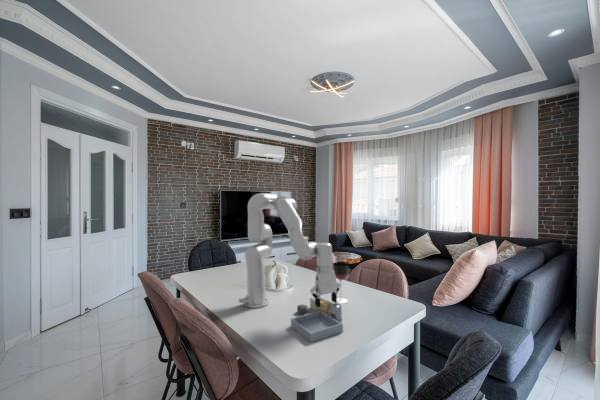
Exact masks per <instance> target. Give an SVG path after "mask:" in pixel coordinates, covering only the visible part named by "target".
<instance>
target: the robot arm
mask: <svg viewBox="0 0 600 400" xmlns="http://www.w3.org/2000/svg"><path fill="white" fill-rule="evenodd" d="M270 209H272V210H276V212H277V214H278V216H279V217H280V219H281V221H282V222H283V224H284V226H285V227H286V229H287V231H288V232H287V234H288V238H289V243H290V245H291V247H292V248H293V250H294V252H295V254H296V255H297V257H299V259H301V260H304V261H308V260H310V259H312V258H314V257H316V267H315V268H314V269H315V271H316V273H315V279H314V282H315V283H314V286H312V288H311V289H310V290H309V292H310V294H311V295H312V297H314V298H315V305H316V306H317V307H320V299H319V297H321V296H322V295H328V294H331V295H330V296H331V302H332V303H334V304H338V303H337V295H338V292H340V282H337V278H336V276H335V272H334V271H333V263H334V262H333V246H332V244H331V243H330V242H317V241H307V240H306V238H305V237H304V235H303V231H302V227H303V219H301V217H300V215H299V213H298V212H297V209H298V203H297V201H296V200H295V199H294V198H291V197H289V196H288V197H287V196H284V195H280V194H276V193H274V192H273V193H272V192H271V193H269V192H260V193H255V194H254V195H252V196H251V197H250V199H248V203H247V238H248V240H249V241H250V243H256V244H252V245H251V246H249V247H248V248H246V250H245V253H244V258H245V264H246V279H247V280H246V281H247V282H246V285H247V286H246V288H247V294H246V295H245V296H244V297H243V298H239V299H238V301H237V302H238V303H239V304H241V303H242V304H244V306H245V307H247V308H252V309H258V308H262V307H265V306H267V305H268V304H269V300H268V299H267V298H266V269H265V265H264V261H265V260H268V259H270V257H271V256H272V255H273V254H272V253H273V231H272V228H271V226H270V225H269V224H267V223H265V215H264V212H263V210H270Z"/></svg>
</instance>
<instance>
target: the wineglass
mask: <svg viewBox="0 0 600 400" xmlns="http://www.w3.org/2000/svg"><path fill="white" fill-rule="evenodd" d="M332 263H333V271H334V272H335V276H336V280H337V279H338V280H339V284H340V288H339V297H338V298H337V303H336V304H346V303H348V302H349V301H348V299H346V298H344V297H342V295H343V293H342V281H343V280H345V279H346V278H347V276H348V272H349V271H348V270H349V264H348V263H346V262H339V261H337V262H332Z"/></svg>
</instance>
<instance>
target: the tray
mask: <svg viewBox="0 0 600 400" xmlns="http://www.w3.org/2000/svg"><path fill="white" fill-rule="evenodd" d="M343 325H344V324H343V323H342V322H341V323H340V322H339V321H337V320H335V319H334V318H332V317H331V316H329V315H327V314H325V313H324V312H322V311H318V310H317V311H315V312H311V313H307V314H303V315H300V316H297V317H293V318H290V327H291V328H292V329H294V330H295V331H296V332H298V334H300V335H301V336H302V337H304V339H306V340H308V341H309V342H310V343H313V342H316V341H319V340H323V339H325V338H328V337H333V336H334V335H337V334H340V333H343V332H344V326H343Z"/></svg>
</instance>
